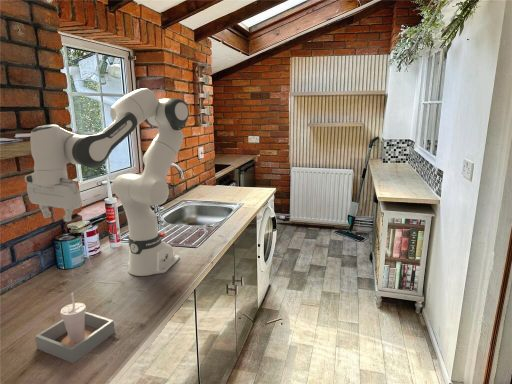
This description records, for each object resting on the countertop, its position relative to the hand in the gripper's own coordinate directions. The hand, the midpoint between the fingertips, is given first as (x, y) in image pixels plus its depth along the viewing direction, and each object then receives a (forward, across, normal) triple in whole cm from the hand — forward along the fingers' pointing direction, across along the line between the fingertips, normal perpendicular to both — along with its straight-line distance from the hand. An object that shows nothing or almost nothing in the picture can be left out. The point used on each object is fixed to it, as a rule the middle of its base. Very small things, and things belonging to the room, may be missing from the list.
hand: (57, 219), depth 112 cm
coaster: (+29, -21, +14) cm, 38 cm away
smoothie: (+29, -21, +14) cm, 38 cm away
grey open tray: (+29, -21, +14) cm, 38 cm away
